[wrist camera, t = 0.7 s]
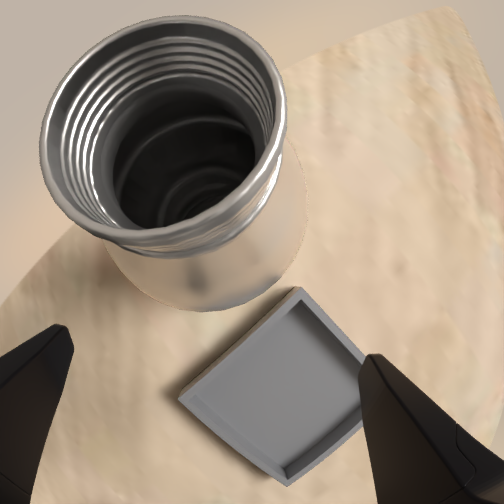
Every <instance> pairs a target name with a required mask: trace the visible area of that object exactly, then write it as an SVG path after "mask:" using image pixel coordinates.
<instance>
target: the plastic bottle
mask: <svg viewBox="0 0 504 504" xmlns="http://www.w3.org/2000/svg"><path fill="white" fill-rule="evenodd" d="M286 131H287V98H286V93H285V89H284V85H283V80H282V77H281V75H280V73H279V71H278V69H277V67H276V65H275V63H274V61H273V59H272V58H271V57H270V56H269V54H268V53H267V52H266V51H265V50H264V48H263V47H262V46H261V45H260V44H259V43H258V42H257V41H255V40H254V39H253V38H252V37H250V36H249V35H248V34H246V33H245V32H244V31H241V30H239V29H238V28H235V27H233V26H231V25H229V24H227V23H225V22H221V21H217V20H214V19H210V18H206V17H199V16H189V15H179V16H164V17H159V18H154V19H149V20H145V21H141V22H139V23H136V24H133V25H131V26H128V27H125V28H123V29H121V30H119V31H117V32H115V33H113V34H112V35H110V36H108V37H106V38H105V39H103V40H102V41H100V42H99V43H97V44H96V45H95V46H94V47H92V48H91V49H89V50H88V51H87V52H86V53H85V54H84V55H83V56H82V57H81V58H80V59H79V60H78V61H77V62H76V63H75V64H74V65H73V66H72V67H71V68H70V69H69V71H68V72H67V73H66V75H65V76H64V77H63V79H62V80H61V81H60V83H59V85H58V86H57V88H56V90H55V92H54V94H53V96H52V98H51V99H50V101H49V104H48V106H47V110H46V113H45V115H44V118H43V121H42V127H41V133H40V140H39V154H40V155H39V156H40V166H41V170H42V174H43V178H44V182H45V184H46V186H47V188H48V190H49V192H50V194H51V196H52V198H53V200H54V202H55V203H56V204H57V205H58V206H59V208H60V209H61V210H62V211H63V212H64V213H65V214H66V215H67V217H68V218H69V219H71V220H72V221H74V222H75V223H76V224H77V225H79V226H80V227H82V228H83V229H85V230H86V231H88V232H89V233H91V234H92V235H94V236H96V237H99V238H101V239H102V240H103V242H104V245H105V247H106V249H107V252H108V254H109V255H110V256H111V258H112V259H113V261H114V262H115V264H116V265H117V267H118V268H119V269H120V271H121V272H122V273H123V274H124V275H125V276H126V277H127V278H128V279H129V280H130V281H131V282H132V283H133V284H134V285H135V286H136V287H137V288H138V289H139V290H141V291H142V292H143V293H145V294H147V295H148V296H150V297H152V298H153V299H155V300H157V301H158V302H160V303H163V304H166V305H168V306H171V307H174V308H177V309H180V310H188V311H196V312H209V311H221V310H226V309H229V308H232V307H236V306H239V305H242V304H245V303H247V302H248V301H250V300H252V299H254V298H256V297H257V296H259V295H261V294H263V293H264V292H265V291H266V290H268V289H269V288H270V287H271V286H272V285H273V284H274V283H276V282H277V281H278V280H279V279H280V278H281V277H282V275H283V274H284V273H285V271H286V270H287V269H288V267H289V266H290V265H291V263H292V262H293V261H294V259H295V257H296V254H297V252H298V250H299V248H300V246H301V244H302V241H303V238H304V234H305V230H306V225H307V221H308V193H307V187H306V181H305V176H304V172H303V169H302V166H301V164H300V161H299V159H298V156H297V153H296V151H295V149H294V147H293V146H292V144H291V143H290V141H289V140H288V138H287V137H286Z"/></svg>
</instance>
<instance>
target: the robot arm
mask: <svg viewBox="0 0 504 504" xmlns="http://www.w3.org/2000/svg"><path fill="white" fill-rule="evenodd" d="M73 353H74V345H73V342H72V339H71V336H70V333H69V330H68V328H67V327H66V326H64V325H59V324H54V325H52V326H50V327H49V328H47V329H45V330H44V331H42V332H40V333H39V334H37V335H36V336H34V337H32V338H31V339H29V340H27V341H26V342H24V343H22V344H21V345H19V346H18V347H16V348H14V349H13V350H11V351H10V352H8V353H6V354H5V355H3V356H2V357H0V504H30V500H31V494H32V490H33V486H34V482H35V478H36V474H37V470H38V466H39V462H40V459H41V455H42V452H43V449H44V445H45V442H46V439H47V436H48V432H49V429H50V426H51V423H52V420H53V417H54V415H55V412H56V409H57V406H58V403H59V401H60V398H61V395H62V392H63V389H64V385H65V381H66V378H67V374H68V370H69V367H70V363H71V360H72V356H73ZM358 385H359V394H360V403H361V413H362V422H363V427H364V432H365V437H366V441H367V446H368V451H369V457H370V462H371V467H372V473H373V478H374V484H375V490H376V496H377V502H378V504H504V460H502V459H501V458H499V457H498V456H497V455H496V454H494V453H493V452H491V451H490V450H489V449H487V448H486V447H485V446H484V445H482V444H481V443H480V442H478V441H477V440H476V439H475V438H474V437H472V436H471V435H470V434H469V433H468V432H467V431H466V430H464V429H463V428H462V427H461V426H460V425H459V424H456V421H455V420H453V419H452V418H451V417H450V416H449V415H448V414H447V413H446V412H445V411H444V410H442V409H441V408H440V407H439V406H438V405H437V404H436V403H435V402H434V401H433V400H431V399H430V398H429V397H428V396H427V395H426V394H425V393H424V392H423V391H422V390H420V389H419V388H418V387H417V386H416V385H415V384H414V383H413V382H412V381H410V380H409V379H408V378H407V377H406V376H405V375H404V374H403V373H402V372H400V371H399V370H398V369H397V368H396V367H395V366H394V365H393V364H392V363H390V362H389V361H388V360H387V359H386V358H385V357H384V356H383V355H381V354H368V355H367V356H366V358H365V360H364V362H363V364H362V366H361V368H360V370H359V373H358Z"/></svg>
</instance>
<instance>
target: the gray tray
mask: <svg viewBox="0 0 504 504" xmlns="http://www.w3.org/2000/svg"><path fill="white" fill-rule="evenodd" d="M365 358H366V357H365V355H364V354H363V353H362V352H361V351H360V350H359V349H358V348H357V347H356V346H355V344H354V343H353V342H352V341H351V340H350V339H349V338H348V337H347V336H346V335H345V334H344V332H343V331H342V330H341V329H340V328H339V327H338V326H337V325H336V324H335V323H334V322H333V320H332V319H331V318H330V317H329V316H328V315H327V314H326V313H325V312H324V311H323V310H322V308H321V307H320V306H319V305H318V304H317V303H316V302H315V301H314V300H313V299H312V298H311V297H310V295H309V294H308V293H307V292H306V291H305V290H304V289H303V288H302V287H297V286H295V287H294V288H293V289H292V290H291V291H290V292H289V293H288V294H287V295H286V296H285V297H284V298H283V299H282V300H281V301H280V302H279V303H277V304H276V305H275V306H274V307H273V308H272V309H271V310H270V311H269V312H268V313H267V314H266V315H265V316H264V317H263V318H262V319H260V320H259V321H258V322H257V323H256V324H255V325H254V326H253V327H252V328H251V329H250V330H249V331H247V332H246V333H245V334H244V335H243V336H242V337H241V338H240V339H239V340H238V341H236V342H235V343H234V344H233V345H232V346H231V347H230V348H229V349H228V350H226V351H225V352H224V353H223V354H222V355H221V356H220V357H219V358H217V359H216V360H215V361H214V362H213V363H212V364H211V365H210V366H208V367H207V368H206V369H205V370H204V371H203V372H201V373H200V374H199V375H198V376H197V377H196V378H195V379H193V380H192V381H191V382H190V383H189V384H188V385H186V386H185V387H184V388H183V389H182V391H181V393H180V395H179V397H178V400H179V401H180V402H181V403H182V404H183V405H184V406H185V407H186V408H187V409H188V410H189V411H191V412H192V413H193V414H194V415H195V416H196V417H197V418H198V419H199V420H201V421H202V422H203V423H204V424H205V425H206V426H207V427H209V428H210V429H211V430H212V431H213V432H214V433H216V434H217V435H218V436H219V437H220V438H221V439H223V440H224V441H225V442H226V443H228V444H229V445H230V446H231V447H233V448H234V449H235V450H236V451H238V452H239V453H240V454H241V455H243V456H244V457H245V458H247V459H248V460H249V461H251V462H252V463H253V464H255V465H256V466H257V467H259V468H260V469H261V470H263V471H264V472H266V473H267V474H268V475H270V476H271V477H273V478H274V479H276V480H277V481H279V482H280V483H282V484H283V485H285V486H286V487H288V486H289V485H290V484H292V483H293V482H295V481H296V480H298V479H299V478H300V477H302V476H303V475H304V474H306V473H307V472H309V471H310V470H311V469H313V468H314V467H315V466H316V465H318V464H319V463H320V462H322V461H323V460H324V459H325V458H327V457H328V456H329V455H330V454H332V453H333V452H334V451H335V450H336V449H338V448H339V447H340V446H341V445H342V444H343V443H345V442H346V441H347V440H348V439H349V438H350V437H351V436H353V435H354V434H355V433H356V432H357V431H358V430H359V429H360V428H361V427H362V426H363V422H362V413H361V403H360V394H359V385H358V373H359V370H360V368H361V366H362V364H363V362H364V360H365Z"/></svg>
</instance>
